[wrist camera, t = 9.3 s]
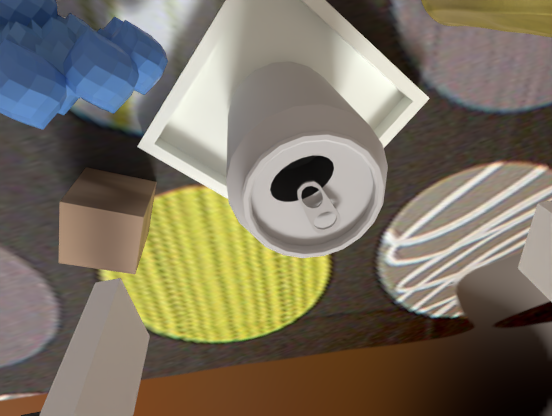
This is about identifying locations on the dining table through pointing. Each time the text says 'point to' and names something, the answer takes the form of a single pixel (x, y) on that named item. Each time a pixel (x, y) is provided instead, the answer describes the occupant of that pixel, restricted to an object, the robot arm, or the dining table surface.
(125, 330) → the robot arm
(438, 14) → the vase
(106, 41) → the grapes
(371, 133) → the can
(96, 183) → the walnut block
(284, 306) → the dining table surface
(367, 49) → the tray
